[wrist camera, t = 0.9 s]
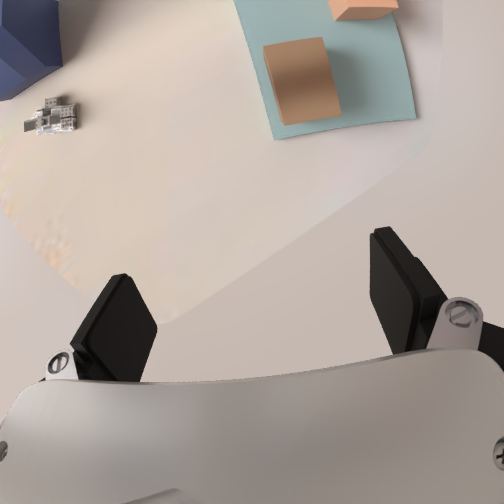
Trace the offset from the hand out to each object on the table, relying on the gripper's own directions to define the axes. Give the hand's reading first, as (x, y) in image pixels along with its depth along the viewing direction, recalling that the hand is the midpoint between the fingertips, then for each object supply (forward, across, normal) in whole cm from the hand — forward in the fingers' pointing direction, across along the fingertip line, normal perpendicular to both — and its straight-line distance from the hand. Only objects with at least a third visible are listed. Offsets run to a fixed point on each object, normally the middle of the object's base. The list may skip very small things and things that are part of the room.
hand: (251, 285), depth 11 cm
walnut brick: (+25, -6, -7) cm, 26 cm away
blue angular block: (+26, +28, -26) cm, 47 cm away
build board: (+26, -11, -12) cm, 31 cm away
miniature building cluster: (+27, +24, -15) cm, 39 cm away
